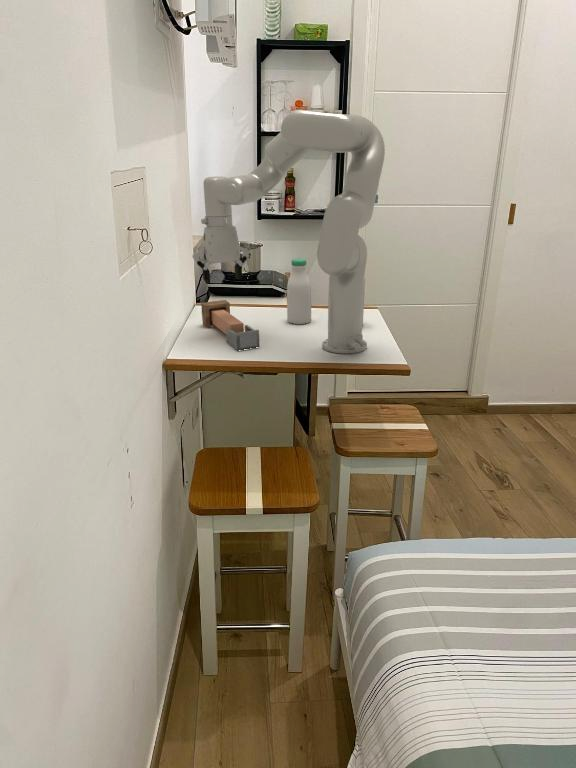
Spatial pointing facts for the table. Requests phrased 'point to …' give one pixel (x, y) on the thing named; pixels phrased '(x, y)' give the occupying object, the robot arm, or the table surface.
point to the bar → (225, 320)
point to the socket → (212, 305)
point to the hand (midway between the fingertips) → (223, 280)
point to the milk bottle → (299, 294)
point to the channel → (243, 338)
